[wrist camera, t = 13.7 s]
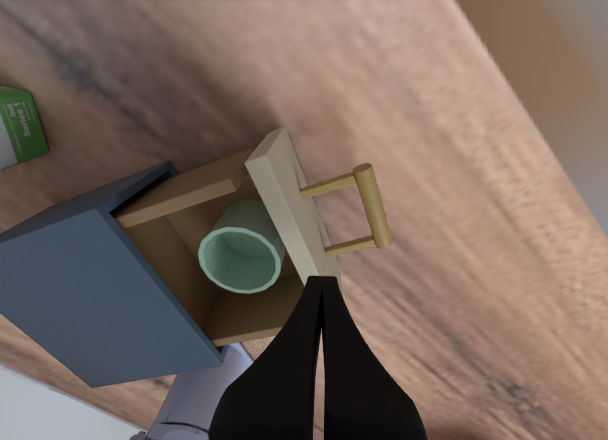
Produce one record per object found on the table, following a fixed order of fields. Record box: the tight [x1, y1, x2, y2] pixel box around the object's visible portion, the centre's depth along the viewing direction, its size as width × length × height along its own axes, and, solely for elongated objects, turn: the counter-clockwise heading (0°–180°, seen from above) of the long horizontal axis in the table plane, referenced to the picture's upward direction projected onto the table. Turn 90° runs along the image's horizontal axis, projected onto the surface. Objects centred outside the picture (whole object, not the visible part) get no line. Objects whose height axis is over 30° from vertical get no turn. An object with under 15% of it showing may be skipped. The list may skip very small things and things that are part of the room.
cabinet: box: [0, 161, 230, 388], centre depth 23 cm, size 13×14×8 cm
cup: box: [198, 199, 286, 294], centre depth 21 cm, size 6×6×4 cm
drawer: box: [109, 127, 393, 347], centre depth 20 cm, size 17×13×7 cm
